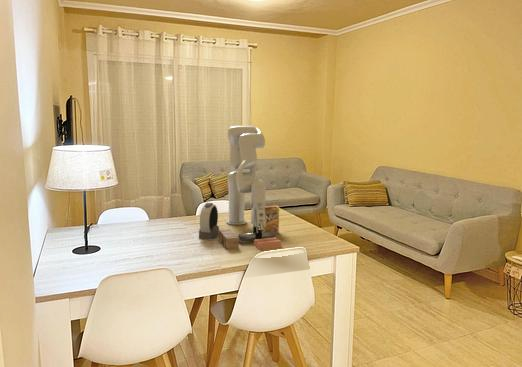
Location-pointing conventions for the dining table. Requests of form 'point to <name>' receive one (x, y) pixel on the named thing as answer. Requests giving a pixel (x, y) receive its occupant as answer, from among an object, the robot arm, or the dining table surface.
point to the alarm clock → (209, 222)
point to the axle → (253, 236)
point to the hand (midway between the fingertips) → (257, 238)
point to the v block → (267, 243)
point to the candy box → (271, 219)
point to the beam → (228, 239)
